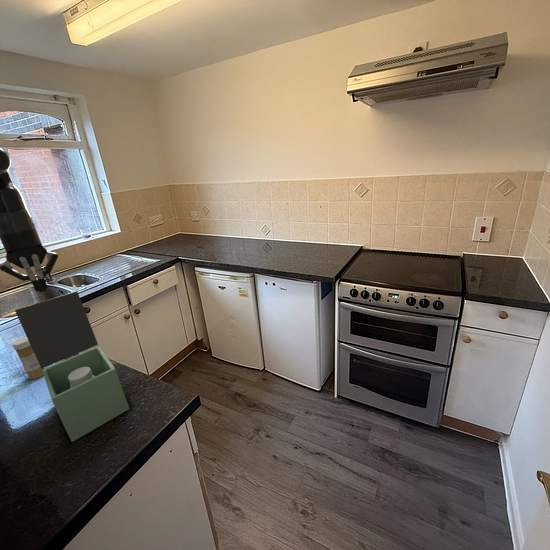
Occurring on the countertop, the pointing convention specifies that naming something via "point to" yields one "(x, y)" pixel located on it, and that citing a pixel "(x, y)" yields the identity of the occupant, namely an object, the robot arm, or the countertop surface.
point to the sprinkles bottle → (28, 358)
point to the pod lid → (57, 328)
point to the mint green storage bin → (85, 393)
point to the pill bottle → (80, 376)
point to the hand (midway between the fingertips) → (42, 291)
